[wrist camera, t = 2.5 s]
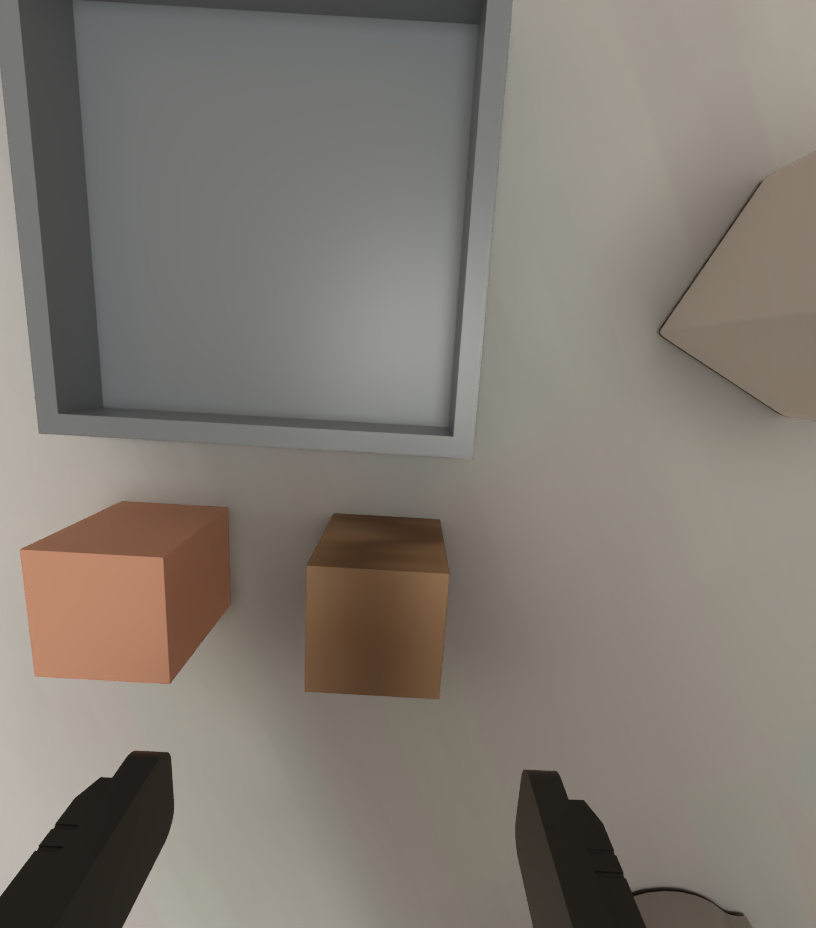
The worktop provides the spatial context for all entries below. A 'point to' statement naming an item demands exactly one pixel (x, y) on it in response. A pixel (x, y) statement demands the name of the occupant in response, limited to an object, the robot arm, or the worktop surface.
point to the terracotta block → (127, 591)
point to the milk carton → (761, 297)
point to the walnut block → (377, 607)
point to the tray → (257, 216)
